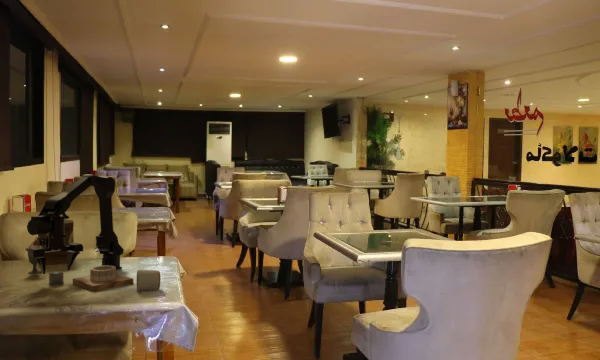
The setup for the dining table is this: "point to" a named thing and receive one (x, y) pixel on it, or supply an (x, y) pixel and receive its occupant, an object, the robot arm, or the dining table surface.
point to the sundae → (32, 260)
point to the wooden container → (62, 256)
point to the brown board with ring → (102, 279)
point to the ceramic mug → (148, 280)
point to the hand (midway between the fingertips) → (56, 272)
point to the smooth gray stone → (55, 278)
